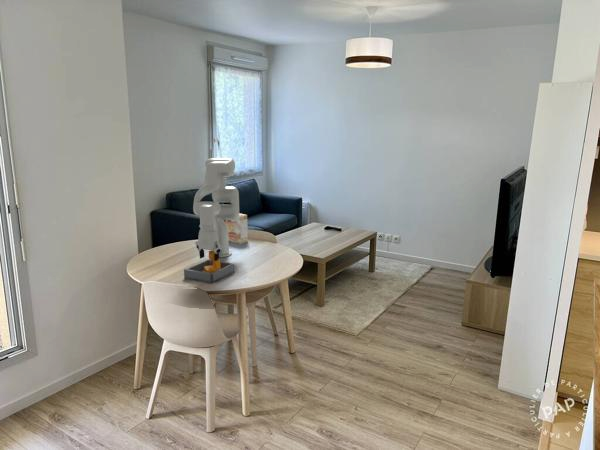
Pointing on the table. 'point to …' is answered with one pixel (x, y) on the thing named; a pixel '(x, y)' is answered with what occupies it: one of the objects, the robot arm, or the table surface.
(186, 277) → the tray
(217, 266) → the bracket
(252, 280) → the table surface
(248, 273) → the table surface
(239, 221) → the coffeecake box
